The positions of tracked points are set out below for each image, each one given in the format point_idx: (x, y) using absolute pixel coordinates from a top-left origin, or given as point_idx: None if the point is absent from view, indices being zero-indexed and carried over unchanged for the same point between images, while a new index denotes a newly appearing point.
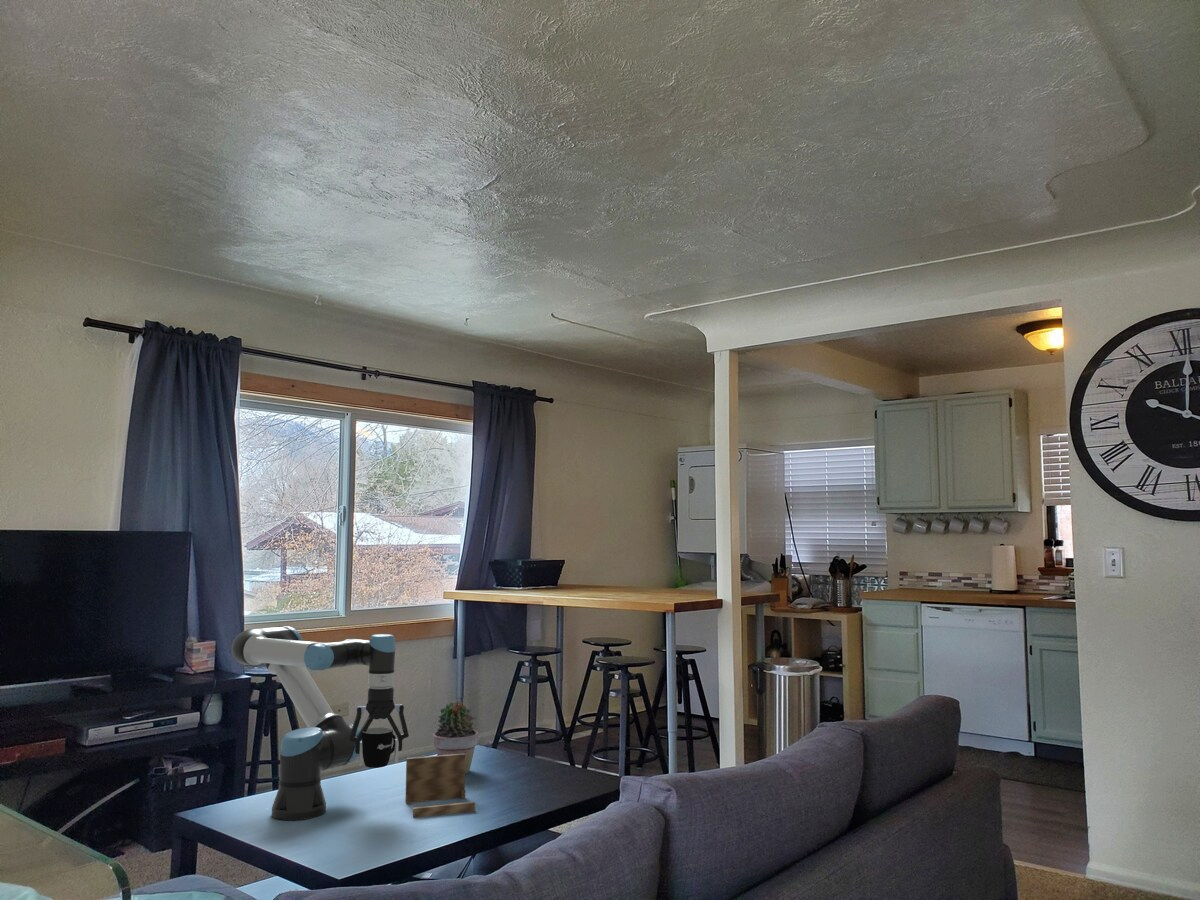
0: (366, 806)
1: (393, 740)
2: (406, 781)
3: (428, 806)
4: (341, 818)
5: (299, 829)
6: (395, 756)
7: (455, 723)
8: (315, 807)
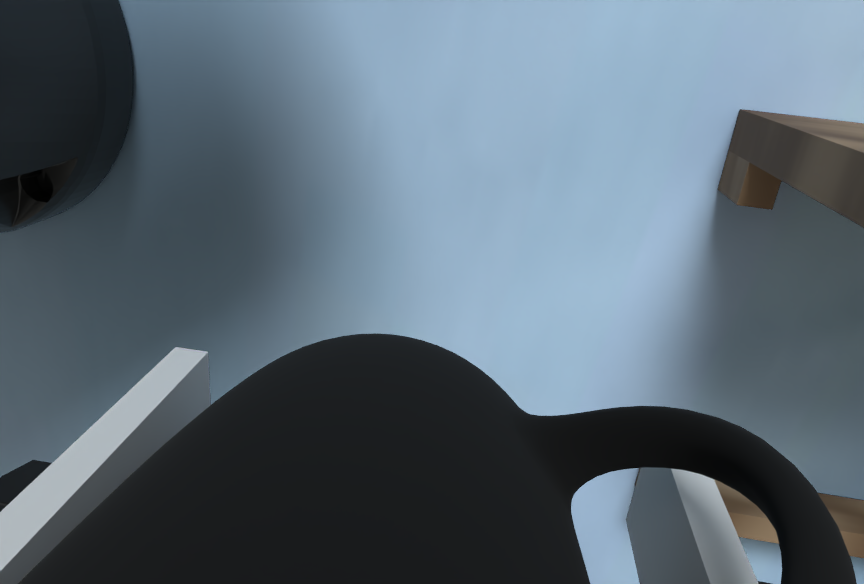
0: (423, 95)
1: (781, 542)
2: (796, 182)
3: (752, 523)
4: (232, 299)
5: (18, 381)
6: (644, 576)
7: None
8: (33, 215)
